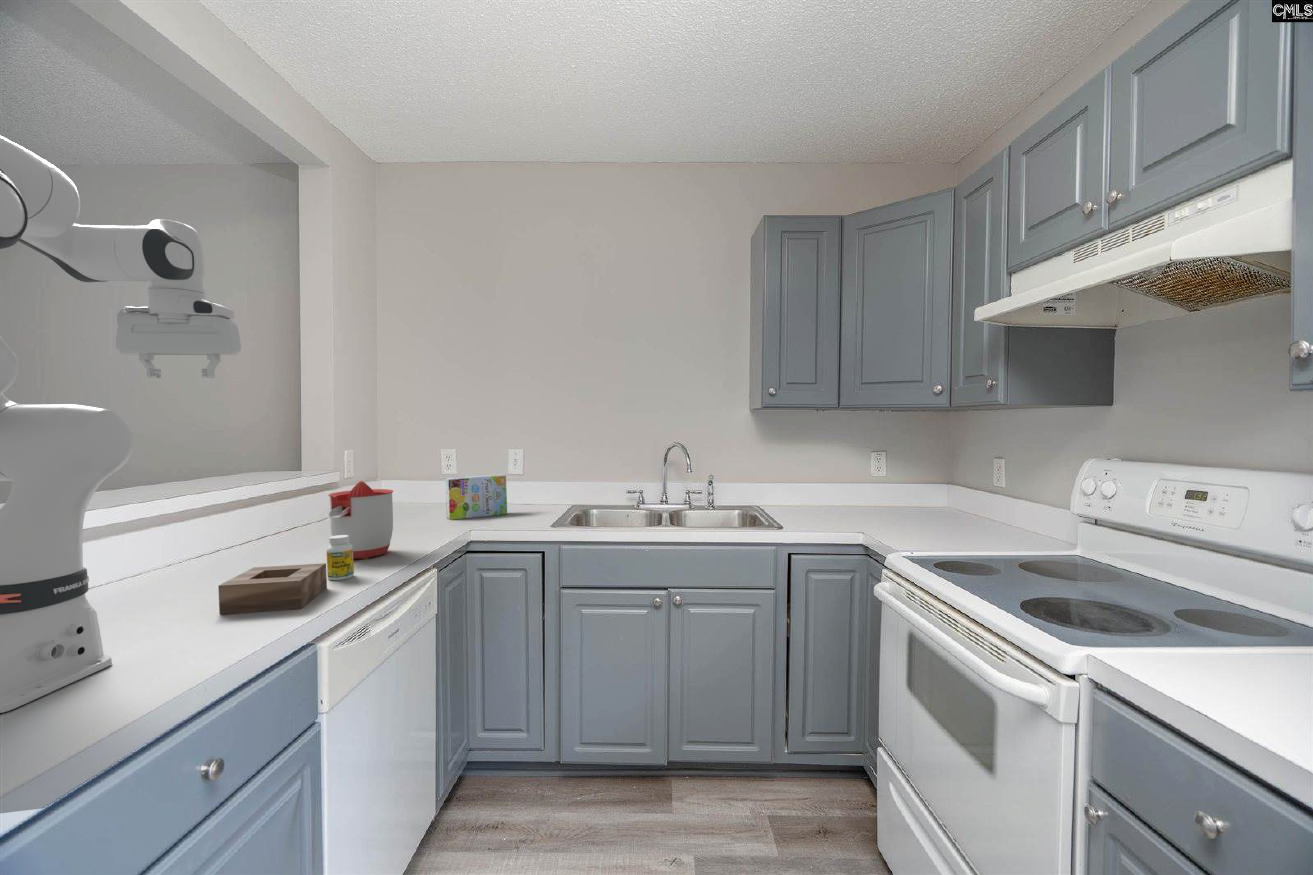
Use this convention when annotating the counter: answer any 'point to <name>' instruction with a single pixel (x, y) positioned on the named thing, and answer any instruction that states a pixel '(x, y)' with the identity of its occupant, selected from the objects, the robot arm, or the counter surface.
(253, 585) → the socket block
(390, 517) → the citrus juicer
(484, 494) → the snack box
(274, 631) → the counter surface
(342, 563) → the supplement bottle
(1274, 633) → the counter surface
